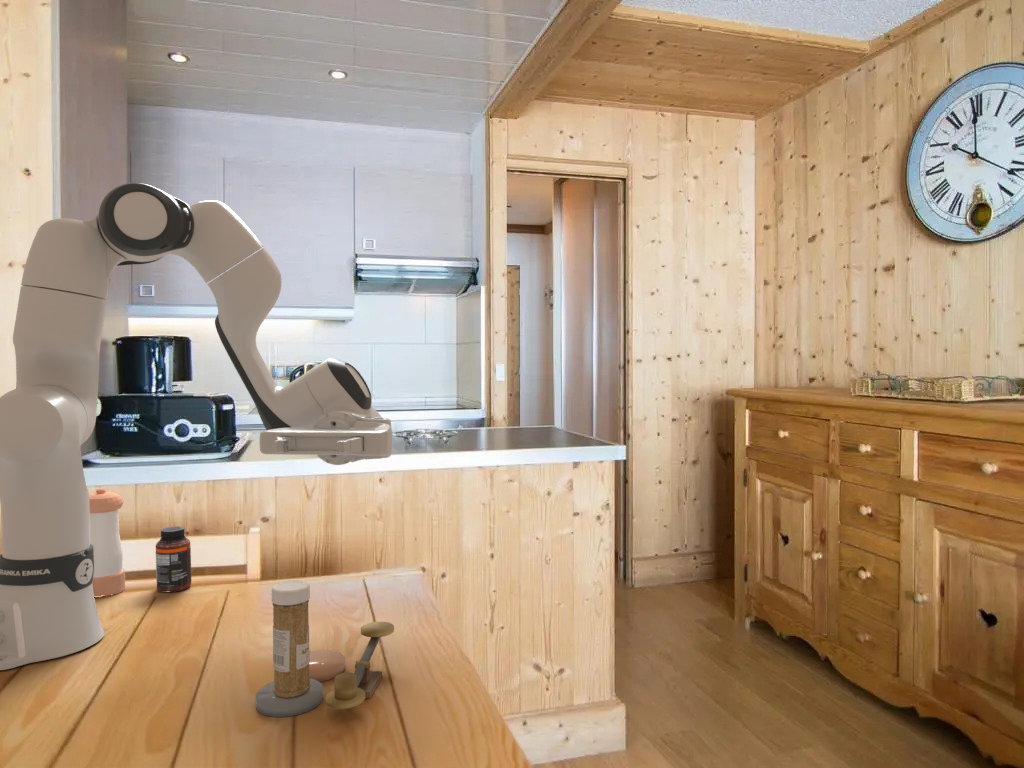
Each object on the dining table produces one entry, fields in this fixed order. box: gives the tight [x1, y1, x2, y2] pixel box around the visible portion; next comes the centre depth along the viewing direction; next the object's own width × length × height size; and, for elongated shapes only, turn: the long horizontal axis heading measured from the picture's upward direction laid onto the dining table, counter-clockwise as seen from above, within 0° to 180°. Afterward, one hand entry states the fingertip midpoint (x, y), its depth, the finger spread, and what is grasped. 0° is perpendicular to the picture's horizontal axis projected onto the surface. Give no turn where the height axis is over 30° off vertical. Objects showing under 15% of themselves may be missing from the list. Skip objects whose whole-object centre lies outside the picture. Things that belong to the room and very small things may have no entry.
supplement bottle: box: [155, 526, 192, 592], centre depth 133 cm, size 6×6×11 cm
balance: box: [325, 621, 395, 710], centre depth 93 cm, size 5×19×5 cm, turn 176°
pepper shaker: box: [89, 487, 126, 596], centre depth 131 cm, size 7×7×19 cm
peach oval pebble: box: [309, 649, 346, 683], centre depth 98 cm, size 8×8×1 cm
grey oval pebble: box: [255, 678, 324, 718], centre depth 89 cm, size 8×8×1 cm
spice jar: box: [271, 580, 311, 698], centre depth 89 cm, size 5×5×13 cm
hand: (310, 447), depth 104 cm, fingers open, 8 cm apart
